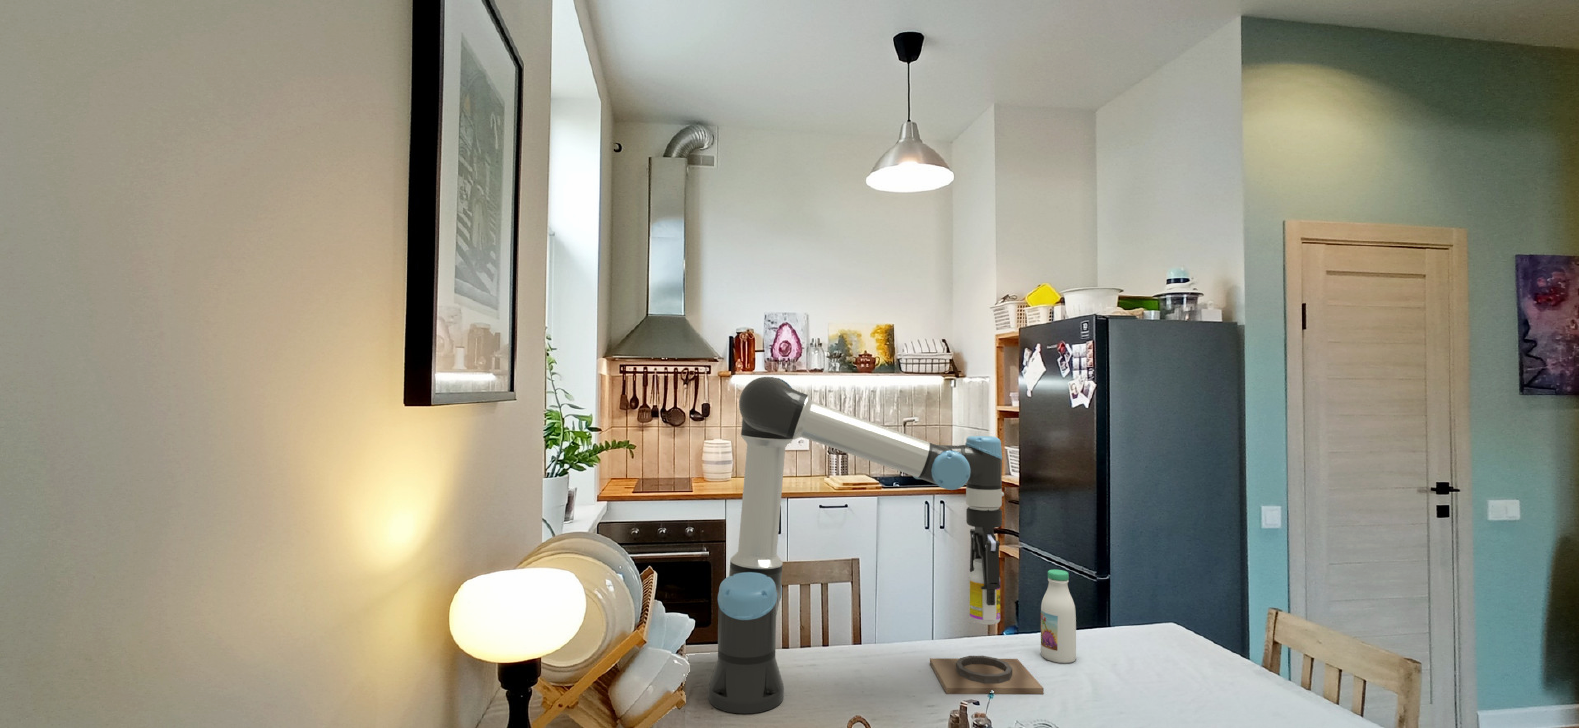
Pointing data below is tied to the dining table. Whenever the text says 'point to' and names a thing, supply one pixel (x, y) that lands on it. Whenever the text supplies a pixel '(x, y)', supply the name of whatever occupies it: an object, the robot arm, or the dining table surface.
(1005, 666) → the socket board
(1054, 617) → the milk bottle
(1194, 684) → the dining table surface
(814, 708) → the dining table surface
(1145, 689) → the dining table surface
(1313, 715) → the dining table surface
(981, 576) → the supplement bottle
